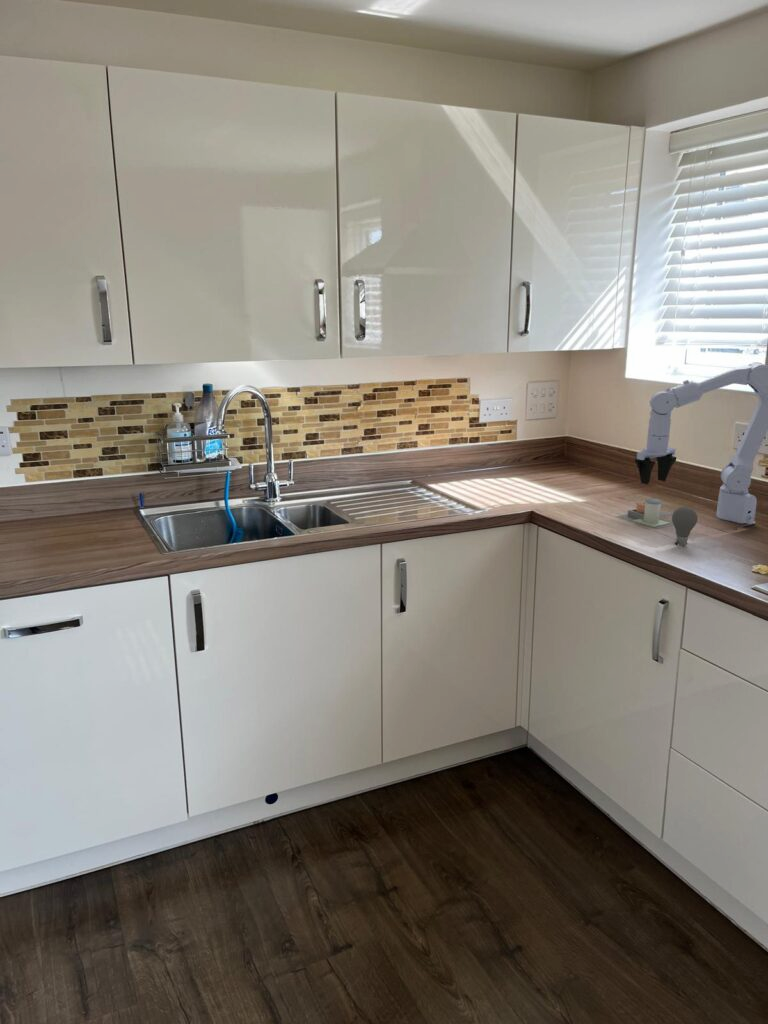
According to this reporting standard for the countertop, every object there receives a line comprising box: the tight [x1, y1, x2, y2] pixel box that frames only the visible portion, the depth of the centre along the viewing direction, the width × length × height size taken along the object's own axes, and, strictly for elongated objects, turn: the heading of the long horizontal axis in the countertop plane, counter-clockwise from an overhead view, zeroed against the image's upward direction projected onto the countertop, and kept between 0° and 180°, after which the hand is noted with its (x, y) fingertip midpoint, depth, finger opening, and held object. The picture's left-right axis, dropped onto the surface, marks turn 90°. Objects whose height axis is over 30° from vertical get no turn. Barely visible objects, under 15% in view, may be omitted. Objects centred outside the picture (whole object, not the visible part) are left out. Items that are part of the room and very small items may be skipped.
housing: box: [615, 508, 674, 530], centre depth 213 cm, size 14×17×3 cm
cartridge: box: [643, 497, 662, 524], centre depth 208 cm, size 4×4×6 cm
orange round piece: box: [635, 502, 645, 514], centre depth 214 cm, size 4×4×3 cm
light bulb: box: [671, 506, 698, 546], centre depth 192 cm, size 6×6×10 cm
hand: (653, 482), depth 218 cm, fingers open, 7 cm apart
